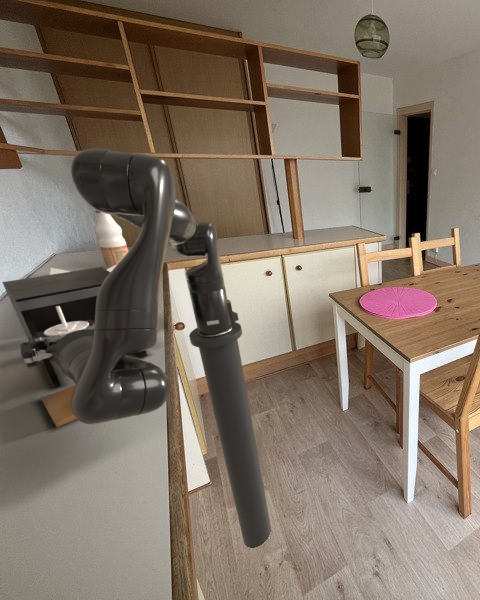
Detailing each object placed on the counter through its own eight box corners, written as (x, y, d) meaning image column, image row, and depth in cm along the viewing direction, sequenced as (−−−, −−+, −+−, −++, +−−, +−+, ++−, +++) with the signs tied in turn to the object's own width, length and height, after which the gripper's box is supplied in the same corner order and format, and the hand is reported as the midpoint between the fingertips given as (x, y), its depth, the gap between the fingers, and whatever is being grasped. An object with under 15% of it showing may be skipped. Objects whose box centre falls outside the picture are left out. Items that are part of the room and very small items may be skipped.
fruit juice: (104, 273, 143) (83, 211, 133) (113, 268, 151) (94, 208, 141) (129, 272, 147) (110, 211, 136) (136, 267, 155) (120, 208, 144)
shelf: (124, 336, 91) (101, 266, 83) (147, 356, 82) (124, 279, 74) (38, 362, 78) (2, 282, 70) (55, 388, 69) (15, 299, 61)
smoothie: (97, 358, 69) (74, 298, 64) (109, 366, 66) (87, 305, 61) (56, 372, 63) (28, 309, 58) (68, 382, 61) (40, 316, 55)
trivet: (116, 374, 74) (114, 371, 74) (135, 394, 68) (133, 390, 67) (42, 401, 65) (40, 397, 64) (56, 427, 58) (54, 423, 58)
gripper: (135, 323, 58) (106, 302, 67) (18, 355, 47) (2, 325, 56) (146, 357, 61) (116, 333, 70) (38, 396, 50) (19, 361, 59)
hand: (65, 330), depth 63 cm, fingers closed on smoothie, 6 cm apart
